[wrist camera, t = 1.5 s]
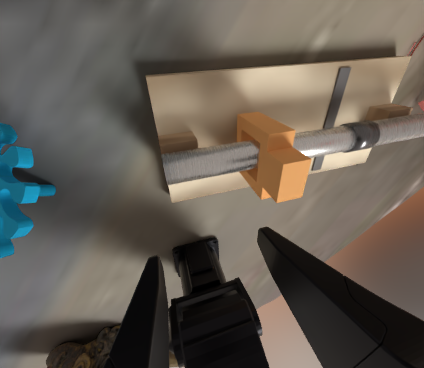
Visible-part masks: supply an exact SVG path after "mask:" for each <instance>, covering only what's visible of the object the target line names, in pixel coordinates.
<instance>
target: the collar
mask: <svg viewBox="0 0 424 368" xmlns="http://www.w3.org/2000/svg"><path fill="white" fill-rule="evenodd" d="M295 132H296V130H294V129H292V128H290V127H288V126H286V125H284V124H282V123H280V122H278V121H276V120H274V119H272V118H270V117H268V116H266V115H264V114H262V113H260V112H251V113H244V114H237V142H242V141H248V140H256V141H258V142H259V143H260V151H259V162H258V168H256V169H250V170H245V171H240V172H239V173H240V174H241V175H242V176H243V178H244V179H245V180H246V181H247V183H248V184H249V185H250V186H251V188H252V189H253V190H254V191H255V193H256V194H257V195H258V196H259V197H260V199H266V198H270V197H272V198H273V200H274V201H275V202H276V203H279V202H283V201H287V200H292V199H296V198H300V197H302V195H303V191H304V187H305V183H306V180H307V176H308V172H309V168H310V164H311V161H312V159H311V158H309V157H308V156H306V155H305V154H303V153H301V152H300V151H298V150H297V149H295V148H293V142H294V137H295Z"/></svg>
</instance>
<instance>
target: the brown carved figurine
mask: <svg viewBox="0 0 424 368" xmlns="http://www.w3.org/2000/svg"><path fill="white" fill-rule="evenodd" d="M119 328H120V326H115V327H113V328H112V329H110V328H104V329H103V330H102V331H101V332H100V334H99V335H98V338H97V339H95V340H94V341H92V342H90V343H88V344H86V345H81V344H78V343H74V342H69V343H65V344H62V345H60V346H58V347H56V348H55V349H54V350H53V351H52V352H51V353H50V354H49V356H48V357H47V360H46V365H47V368H103V366H104V364H105V362H106V359H107V358H109V356H108V355H109V352H110V350H111V347H112V345H113V343H114V340H115V338H116V335H117V333H118V331H119ZM169 367H179V366H178V363H177V359H175V355H174V354H173V353H172V352H170V351H169ZM183 367H185V366H183Z"/></svg>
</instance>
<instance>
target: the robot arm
mask: <svg viewBox="0 0 424 368" xmlns="http://www.w3.org/2000/svg"><path fill="white" fill-rule="evenodd" d="M257 242H258V245H259V248H260V250H261V252H262V255H263V257H264V259H265V262H266V264H267V266H268V269H269V271H270V273H271V275H272V277H273V279H274V281H275V283H276V284H277V286H278V288H279V290H280V292H281V293H282V295H283V297H284V299H285V300H286V302H287V304H288V306H289V308H290V310H291V311H292V313H293V315H294V317H295V318H296V320H297V322H298V324H299V326H300V327H301V329H302V331H303V333H304V335H305V336H306V338H307V340H308V342H309V343H310V345H311V347H312V349H313V350H314V352H315V354H316V356H317V358H318V360H319V361H320V363H321V365H322V367H323V368H424V321H423V320H421V319H419V318H417V317H416V316H414V315H412V314H410V313H408V312H407V311H405V310H403V309H401V308H399V307H397V306H396V305H394V304H392V303H390V302H388V301H386V300H385V299H383V298H381V297H379V296H377V295H375V294H374V293H372V292H370V291H369V290H367V289H365V288H364V287H362V286H361V285H359V284H357V283H356V282H354V281H352V280H351V279H349V278H348V277H346V276H343V274H341V273H340V272H338V271H337V270H335V269H333V268H332V267H330V266H329V265H327V264H326V263H324V262H322V261H321V260H319V259H318V258H316V257H315V256H313V255H311V254H310V253H308V252H307V251H305V250H304V249H302V248H300V247H299V246H297V245H296V244H294V243H293V242H291V241H289V240H288V239H286V238H285V237H283V236H281V235H280V234H278V233H277V232H275V231H274V230H272V229H270V228H269V227H263V228H260V229H259V230H258V238H257ZM173 256H174V260H175V264H176V268H177V272H178V276H179V277H181V283H182V289H183V295H184V296H182V297H179V298H174V299H171V306H170V308H169V309H168V301H167V293H166V286H165V278H164V271H163V266H162V263H161V260H160V257H159V255H156V256H152V257H149V259H148V261H147V263H146V265H145V268H144V270H143V273H142V275H141V277H140V280H139V282H138V285H137V287H136V290H135V292H134V294H133V297H132V299H131V302H130V304H129V306H128V309H127V311H126V314H125V316H124V318H123V321H122V323H121V326H120V328H119V331H118V333H117V335H116V338H115V340H114V343H113V345H112V347H111V350H110V352H109V355H108V356H109V358H107V359H106V362H105V364H104V366H103V368H169V351H170V352H172V353H173V354H174V355H175V359H177V363H178V366H179V368H180V367H183V366H185V368H269V364H268V362H267V359H266V356H265V353H264V349H263V347H262V343H261V340H260V337H259V336H262V327H261V323H260V320H259V317H258V314H257V311H256V309H255V306H254V304H253V302H252V300H251V299H250V297H249V295H248V293H247V291H246V290H245V288H244V286H243V284H242V282H241V280H240V279H239V277H238V278H235V279H234V280H231V281H228V282H226V279H225V276H224V273H223V271H222V268H221V265H220V262H219V248H218V239H217V238H211V239H207V240H203V241H200V242H196V243H192V244H188V245H184V246H180V247H176V248H174V249H173ZM168 311H169V318H168ZM169 323H170V326H169Z"/></svg>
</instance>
